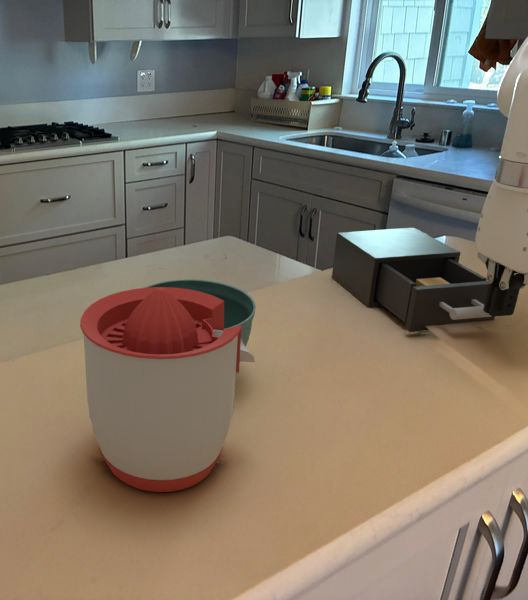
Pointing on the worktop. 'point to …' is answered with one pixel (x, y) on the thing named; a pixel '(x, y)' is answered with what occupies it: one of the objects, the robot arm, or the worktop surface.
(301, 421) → the worktop surface
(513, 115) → the robot arm
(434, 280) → the block
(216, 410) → the citrus juicer
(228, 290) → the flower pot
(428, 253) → the grey drawer box
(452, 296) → the mini dresser drawer
